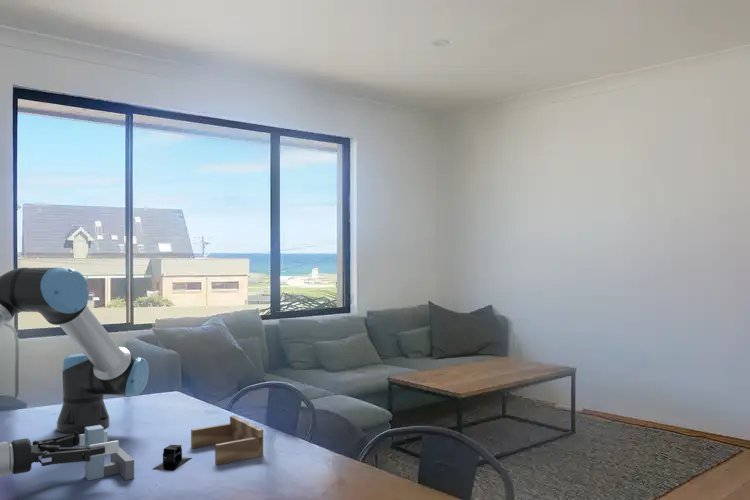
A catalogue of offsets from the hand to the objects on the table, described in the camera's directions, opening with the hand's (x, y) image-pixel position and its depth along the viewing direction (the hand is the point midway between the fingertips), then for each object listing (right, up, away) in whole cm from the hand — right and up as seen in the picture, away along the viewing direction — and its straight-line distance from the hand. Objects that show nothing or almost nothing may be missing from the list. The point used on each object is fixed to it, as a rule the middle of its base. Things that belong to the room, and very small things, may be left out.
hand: (112, 441), depth 162 cm
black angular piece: (+13, -9, +8) cm, 17 cm away
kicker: (-1, -8, -1) cm, 8 cm away
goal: (+25, -8, +18) cm, 31 cm away
